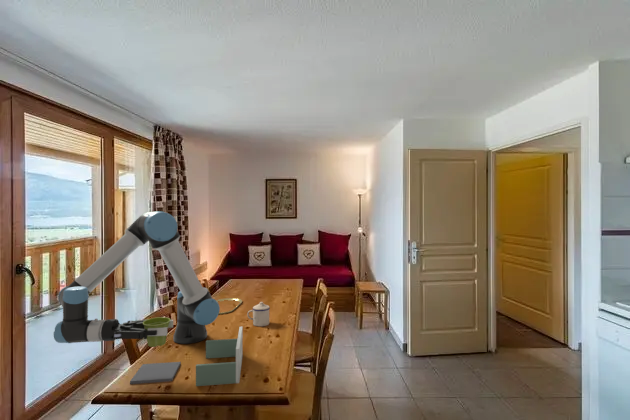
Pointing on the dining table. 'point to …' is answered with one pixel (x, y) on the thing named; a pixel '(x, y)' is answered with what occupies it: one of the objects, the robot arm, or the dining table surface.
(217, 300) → the brass wire loop
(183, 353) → the dining table surface
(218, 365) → the grey-green angled panels
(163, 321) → the plant pot
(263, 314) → the teacup with lid
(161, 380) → the slate mat
